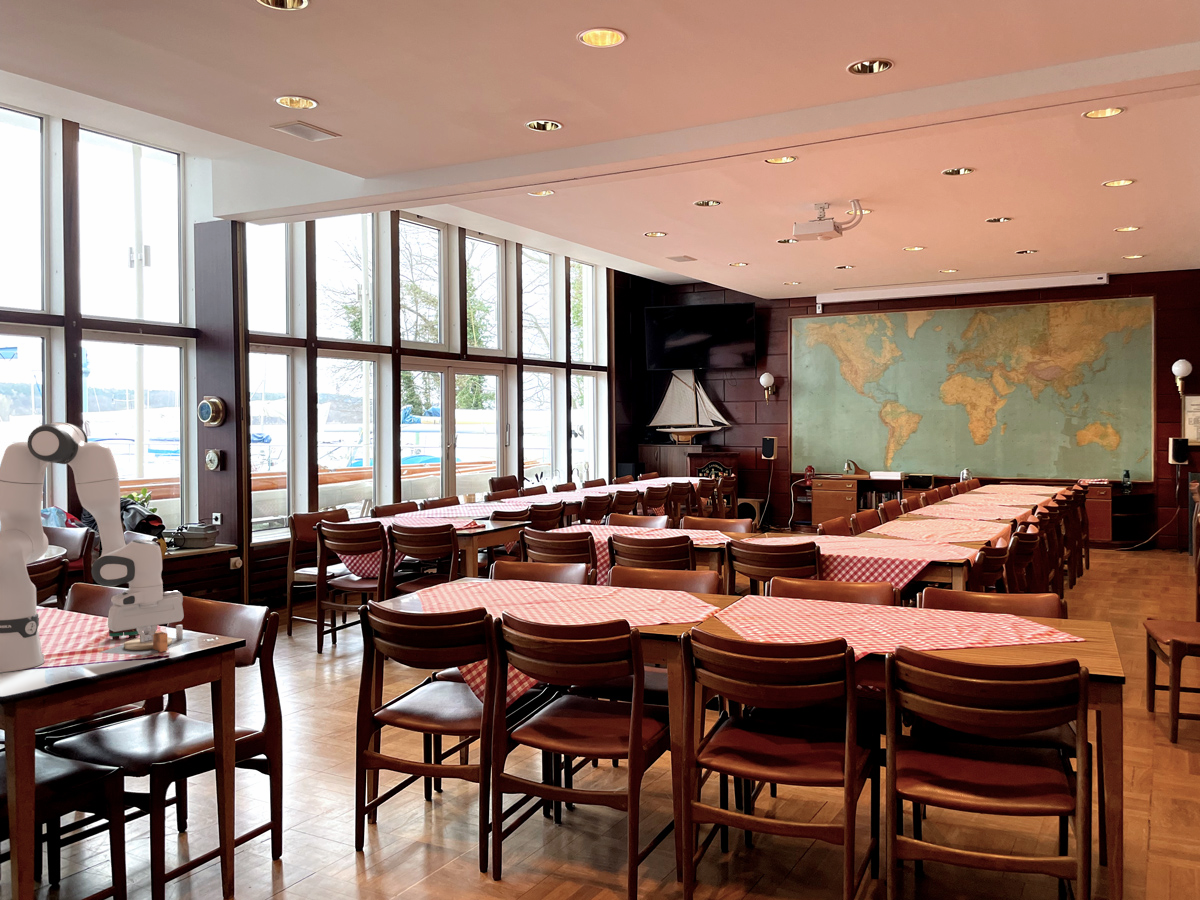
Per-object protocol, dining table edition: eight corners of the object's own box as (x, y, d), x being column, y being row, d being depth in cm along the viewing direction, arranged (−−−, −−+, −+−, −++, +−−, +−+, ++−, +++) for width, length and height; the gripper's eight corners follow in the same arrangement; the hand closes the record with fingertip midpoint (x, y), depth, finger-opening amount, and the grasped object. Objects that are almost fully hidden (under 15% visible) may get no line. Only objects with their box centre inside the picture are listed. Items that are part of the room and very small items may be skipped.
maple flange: (117, 645, 270) (117, 628, 270) (161, 637, 279) (161, 621, 279) (140, 655, 257) (140, 638, 257) (186, 647, 267) (186, 630, 267)
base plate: (99, 657, 262) (98, 630, 262) (147, 641, 282) (147, 616, 281) (148, 660, 258) (148, 633, 258) (194, 644, 278) (194, 618, 278)
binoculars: (142, 606, 289) (138, 609, 280) (142, 639, 288) (138, 642, 279) (111, 608, 286) (106, 611, 276) (111, 641, 285) (106, 645, 276)
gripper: (178, 588, 271) (179, 633, 272) (105, 598, 256) (106, 645, 257) (186, 590, 267) (187, 636, 267) (113, 601, 252) (114, 649, 252)
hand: (147, 641), depth 262 cm, fingers closed
